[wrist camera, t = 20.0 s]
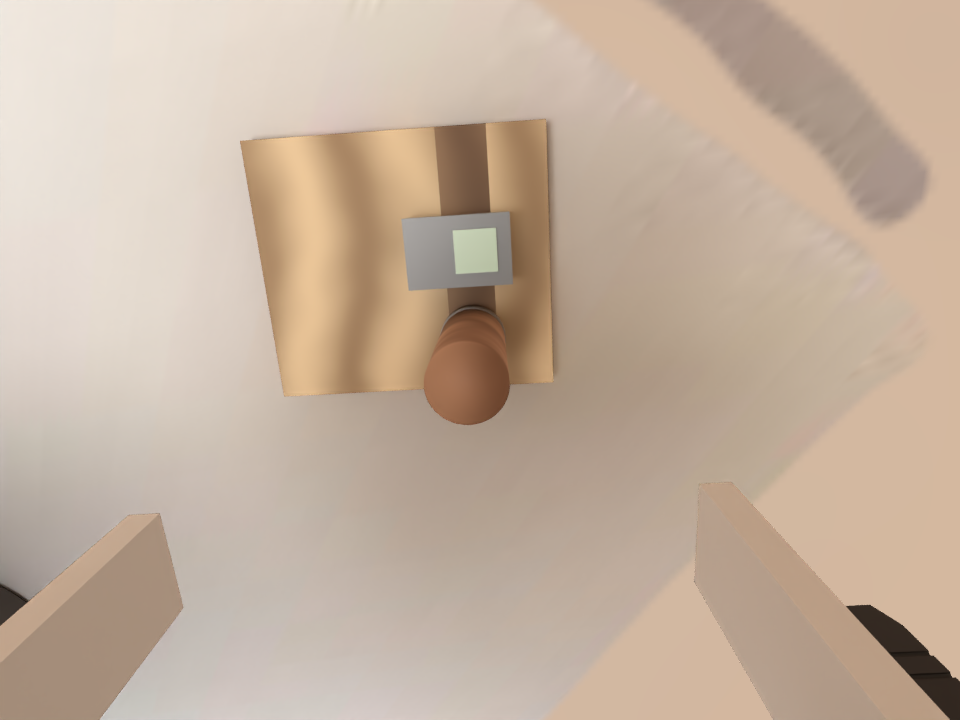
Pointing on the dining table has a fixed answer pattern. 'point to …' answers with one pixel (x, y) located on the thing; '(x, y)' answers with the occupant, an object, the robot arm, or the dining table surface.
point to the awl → (469, 367)
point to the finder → (458, 250)
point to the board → (393, 249)
